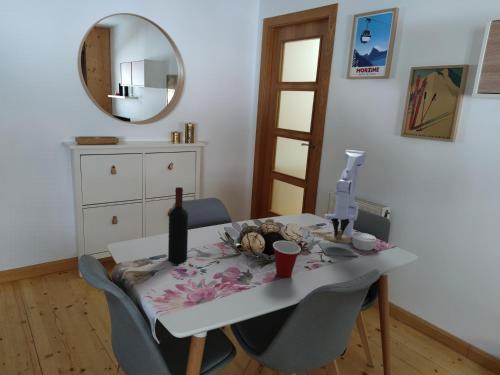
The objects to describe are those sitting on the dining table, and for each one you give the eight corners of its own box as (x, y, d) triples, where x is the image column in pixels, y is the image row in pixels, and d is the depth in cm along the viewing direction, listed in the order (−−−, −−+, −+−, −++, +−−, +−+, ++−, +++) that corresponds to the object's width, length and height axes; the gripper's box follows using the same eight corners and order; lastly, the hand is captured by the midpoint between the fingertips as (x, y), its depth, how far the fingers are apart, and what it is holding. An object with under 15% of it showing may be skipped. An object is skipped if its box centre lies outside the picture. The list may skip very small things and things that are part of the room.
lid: (321, 234, 179) (322, 225, 178) (345, 235, 181) (346, 225, 180) (328, 243, 168) (329, 233, 167) (354, 244, 169) (355, 233, 168)
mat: (317, 243, 181) (317, 242, 181) (345, 244, 182) (346, 243, 182) (326, 255, 167) (326, 254, 167) (356, 256, 169) (356, 255, 169)
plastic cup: (288, 284, 139) (291, 253, 136) (264, 274, 146) (267, 245, 143) (303, 274, 148) (306, 245, 145) (280, 265, 154) (282, 238, 151)
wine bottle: (164, 260, 152) (165, 188, 145) (176, 254, 159) (177, 184, 152) (179, 265, 149) (180, 191, 142) (190, 258, 155) (192, 187, 148)
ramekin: (364, 253, 173) (366, 242, 172) (345, 245, 182) (347, 234, 180) (379, 249, 179) (381, 238, 178) (360, 241, 188) (362, 231, 187)
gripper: (329, 208, 165) (325, 237, 169) (360, 209, 167) (356, 237, 170) (324, 203, 172) (321, 231, 175) (354, 204, 174) (351, 232, 177)
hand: (338, 234), depth 173 cm, fingers closed on lid
